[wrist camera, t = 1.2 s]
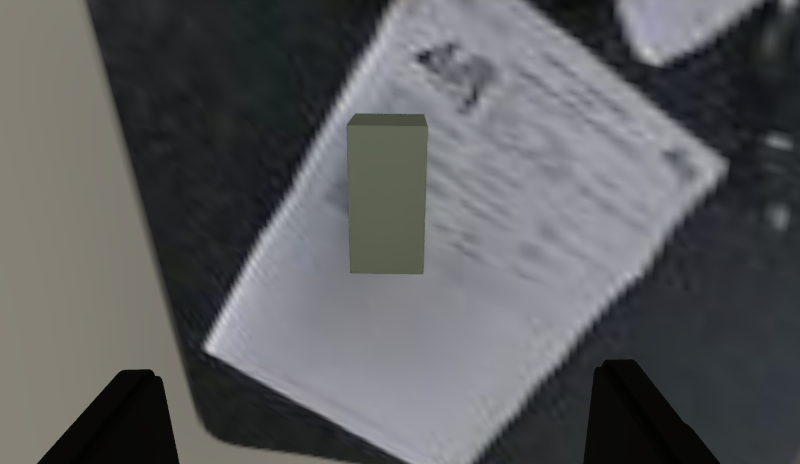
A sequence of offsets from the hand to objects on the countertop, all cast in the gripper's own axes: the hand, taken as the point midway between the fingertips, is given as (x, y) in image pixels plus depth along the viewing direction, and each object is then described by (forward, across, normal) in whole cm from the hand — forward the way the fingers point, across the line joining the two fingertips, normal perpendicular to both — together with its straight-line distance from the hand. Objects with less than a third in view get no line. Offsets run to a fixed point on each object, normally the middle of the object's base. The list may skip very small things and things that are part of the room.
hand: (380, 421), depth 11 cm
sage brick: (+21, 0, 0) cm, 21 cm away
